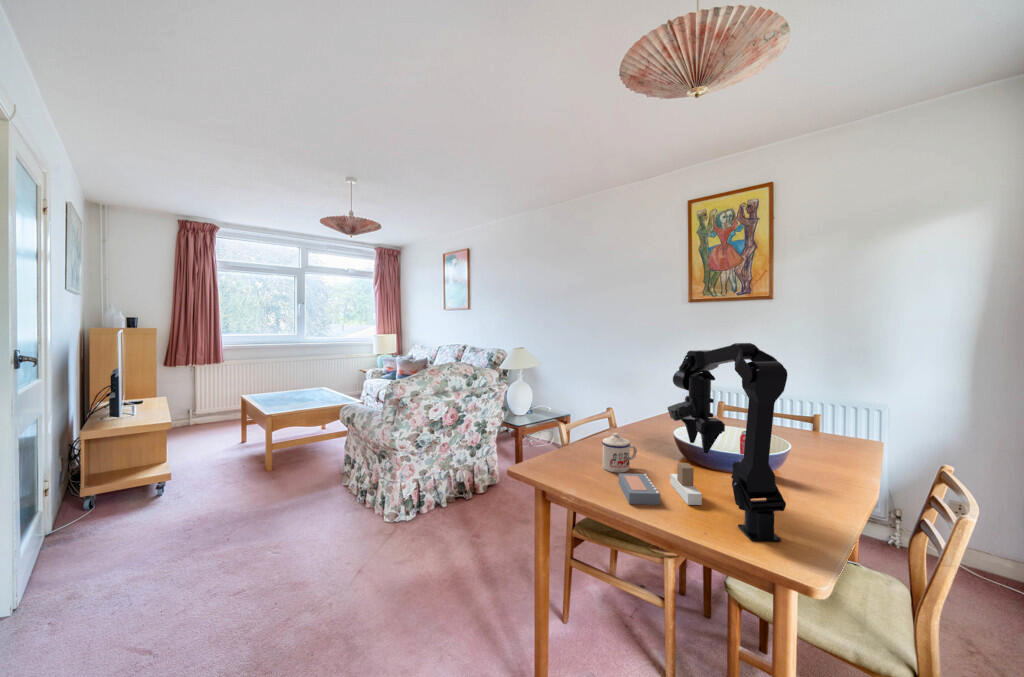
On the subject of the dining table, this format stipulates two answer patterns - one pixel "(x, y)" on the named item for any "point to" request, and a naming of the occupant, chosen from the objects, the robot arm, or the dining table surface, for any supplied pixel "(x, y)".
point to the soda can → (742, 442)
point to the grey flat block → (639, 489)
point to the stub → (686, 484)
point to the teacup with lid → (617, 453)
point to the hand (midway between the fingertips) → (698, 447)
